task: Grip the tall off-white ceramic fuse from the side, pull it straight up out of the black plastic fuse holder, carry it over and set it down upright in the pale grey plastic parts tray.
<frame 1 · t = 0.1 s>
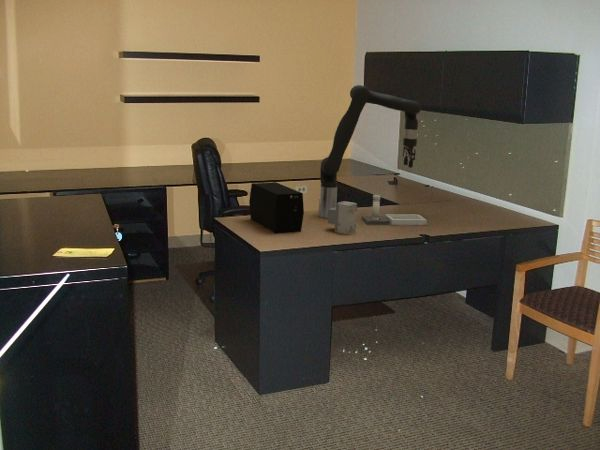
hand: (407, 166, 373), 29 cm above the table, tool pointing down, fingers open, 8 cm apart
fuse holder: (375, 222, 364), on the table
fuse: (375, 208, 362), in the fuse holder
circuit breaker: (340, 231, 341), on the table
uninterruptible power supply: (275, 226, 347), on the table
parts tray: (405, 222, 366), on the table
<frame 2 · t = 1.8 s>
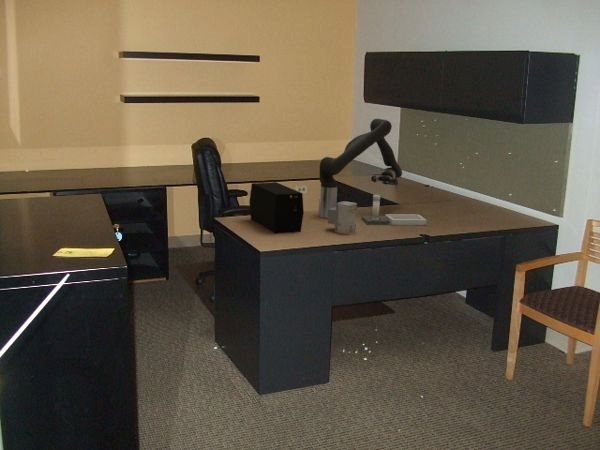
hand: (381, 181, 369), 21 cm above the table, tool horizontal, fingers open, 8 cm apart
nothing on the table moved.
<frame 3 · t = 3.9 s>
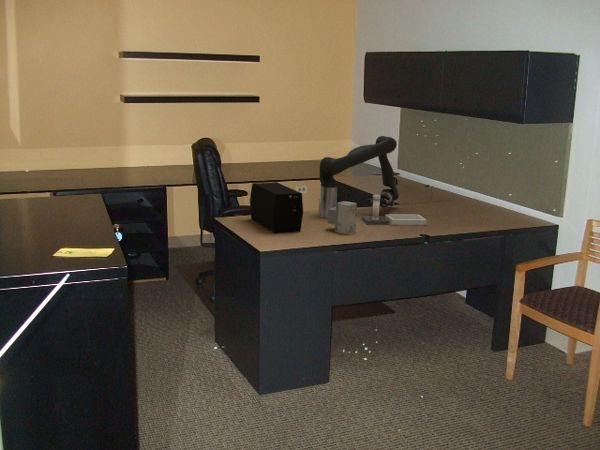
hand: (378, 204, 368), 8 cm above the table, tool horizontal, fingers open, 8 cm apart
nothing on the table moved.
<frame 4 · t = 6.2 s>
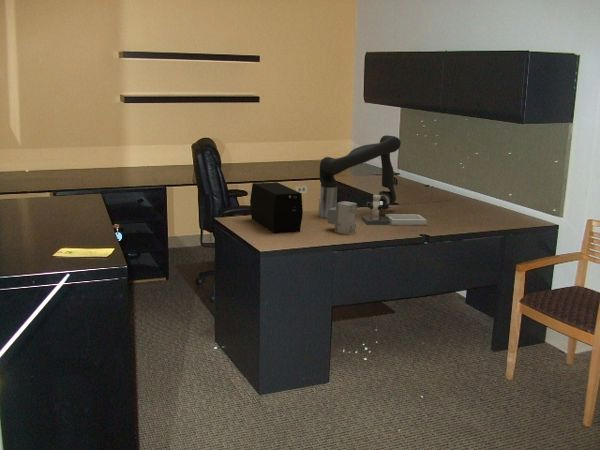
hand: (375, 207, 359), 9 cm above the table, tool horizontal, fingers closed on fuse, 3 cm apart
fuse: (375, 208, 362), in the fuse holder, touching gripper
everything else where it was.
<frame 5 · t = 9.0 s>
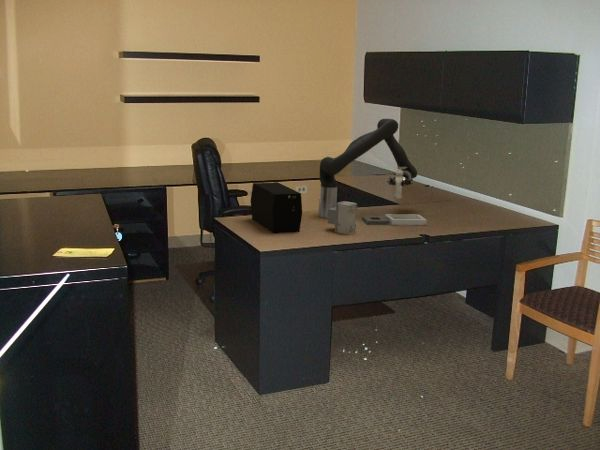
hand: (397, 183, 357), 22 cm above the table, tool horizontal, fingers closed on fuse, 3 cm apart
fuse: (398, 184, 360), point 21 cm above the table, touching gripper
everything else where it was.
when the fingers open (11 cm above the table, at t = 11.9 s): fuse drops 1 cm, resting on parts tray.
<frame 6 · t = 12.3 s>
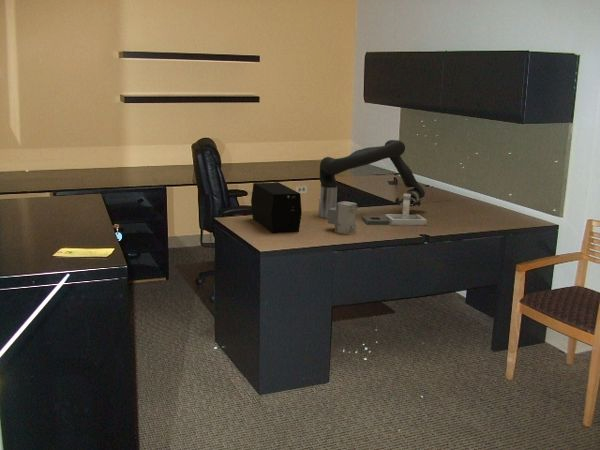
hand: (406, 204, 361), 11 cm above the table, tool horizontal, fingers open, 7 cm apart
fuse: (406, 207, 364), in the parts tray, point 8 cm above the table
everything else where it was.
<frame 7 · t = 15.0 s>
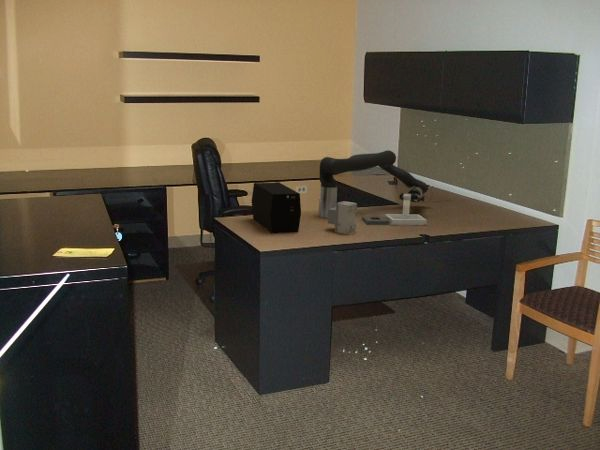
hand: (410, 199, 373), 11 cm above the table, tool horizontal, fingers open, 8 cm apart
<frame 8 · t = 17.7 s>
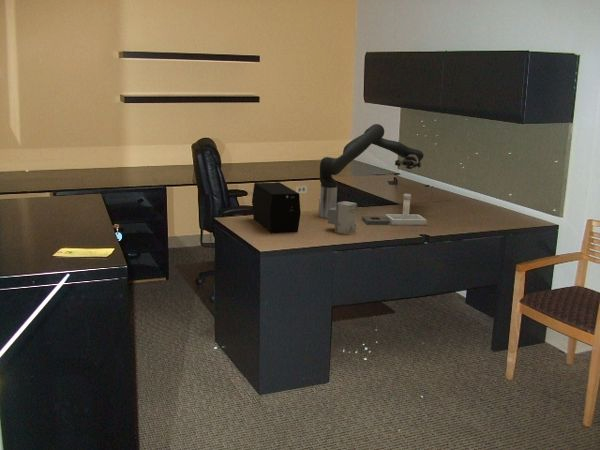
hand: (406, 165, 371), 30 cm above the table, tool horizontal, fingers open, 8 cm apart
at the end: fuse inside the target area on the parts tray (0.1 cm from its centre), point 8.3 cm above the parts tray's base; fuse tilted 0°; the gripper is holding nothing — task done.
